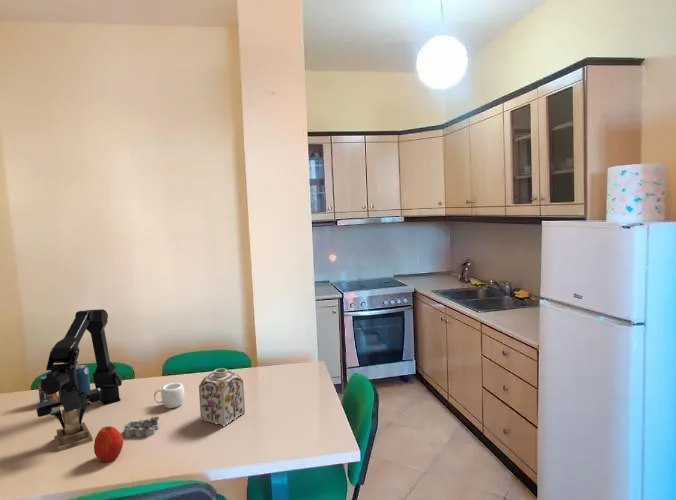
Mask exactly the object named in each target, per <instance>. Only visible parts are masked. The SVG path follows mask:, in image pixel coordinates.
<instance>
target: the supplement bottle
mask: <svg viewBox="0 0 676 500" xmlns="http://www.w3.org/2000/svg"><path fill="white" fill-rule="evenodd" d="M46 377H47V376H46V375H44V376H41V377H40V378H39V379H40V382H39V383H38V384H37V385H38V386H37V387H38V396H39V397H38V398H39V403H41V402H45V401H50V403H55V402H58V392H57V393H55V394H52V395H50V394H46V393H44V392H43V391H42V389H41V383H42V381H43V380H44V379H45V378H46Z"/></svg>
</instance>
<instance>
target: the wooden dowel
mask: <svg viewBox="0 0 676 500" xmlns="http://www.w3.org/2000/svg"><path fill="white" fill-rule="evenodd" d="M62 418H63V421H64V426H65V434H66V435H72V434H75V433H78V432H79V431H80V423H79V413H78V409H74V410H71V411H69V412H65V411H64V409H62Z"/></svg>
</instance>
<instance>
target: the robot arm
mask: <svg viewBox="0 0 676 500" xmlns="http://www.w3.org/2000/svg"><path fill="white" fill-rule="evenodd" d="M74 316H75V317H74V319H73V321H72V323H71V325H70V326H69V328H68V330H67V332H66V333H65V335H64V337H63V338H62V339H61V340H59V341H57V342H56V343H55V345H54V346H53V347H52V348H51V350H50V352H49V356H48V360H47V365H46V369H45V370H46V371H48V372H47V373H46V374H45V376H47V377H46V378H45V379H44V380H43V381H42V383H41V389H42V391H43V392H44V393H46V394H50V395H52V394H55V393H57V394H58V400H59V401H58V400H57V402H55V403H50V401H45V402H41V403H40V402H38V403H36V405H35V411H36V415H37V417H38V418H41V417H45V416H49V415H50V416H51V417H52V416H55V417H56V418H57V420H58V422H59V424H60V426H61V427H62V428H63V429H65V426H64V420H63V413H62V410H61V408H63V410H64V411H65V412H69V411H71V410H74V409H78V413H79V423H80V424H81V423H83V419H84V418H83V417H84V414H85V411H86V409H87V408H88V407H89V406H91V404H92V403H97V402H100V403H101V404H102V405H103V406H105V405H106V406H107V405H109V404H112V403H116V402H117V403H118V402H120V401H121V397H120V389H119V387H120V386H122V384H123V378H122V375H120V373H118V370H117V367H116V365H114V363H112V362H111V360H110V354H109V348H108V343H107V337H106V332H105V331H106V330H105V328H106V326H107V324H108V323H109V322H108V320H109V315H108V312H107V310H105V309H103V308H101V309H100V308H99V309H86V310H78V311H77V312H76V313H75V315H74ZM86 330H87V332H88V333H90V337H91V343H92V347H93V353H94V358H95V363H96V368H95V370H94V372H93V373H92V377H93V383H94V386H95V388H93V389H90V390H88V391H83V392H79V391H78V384H77V374H76V366H75V365H78V361H77V360H78V358H79V354H80V348H79V345H80V341H81V340H82V338H83V336H84V334H85V332H86Z"/></svg>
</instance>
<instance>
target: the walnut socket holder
mask: <svg viewBox="0 0 676 500" xmlns="http://www.w3.org/2000/svg"><path fill="white" fill-rule="evenodd" d="M53 438H54V442H55V445H56V448H57V451H58V452H61V451H64V450H67V449H71V448H74V447H77V446H79V445H84V444H86V443H90V442H93V439H94V438H93V436H92V433H91V432H90V430H89V428H88V426H87V425H86V423H85V422H83V421H82V422H81V424H80V431H79V432H78V433H75V434H72V435H66V434H65V429H63V427H62V428H59V429H57V430H56V435H54V437H53Z"/></svg>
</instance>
